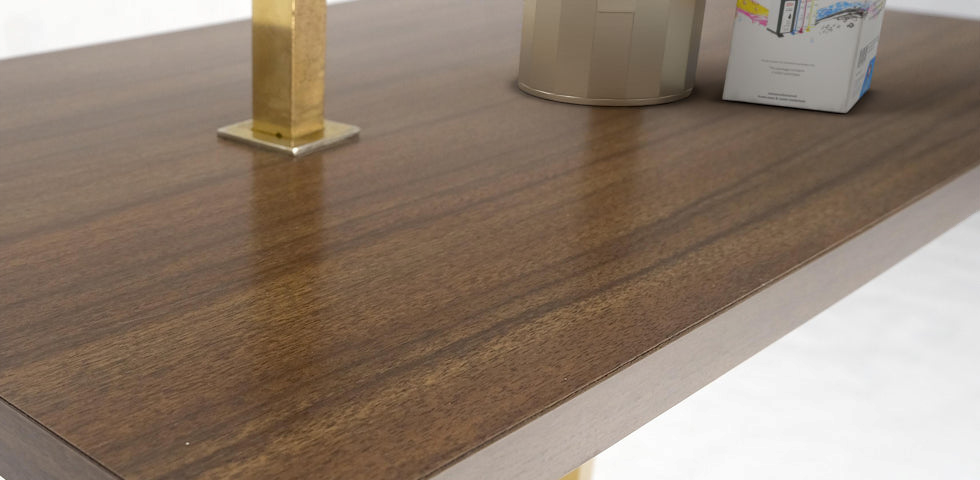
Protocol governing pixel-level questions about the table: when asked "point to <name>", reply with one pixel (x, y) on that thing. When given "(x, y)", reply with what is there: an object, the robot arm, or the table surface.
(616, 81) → the pot
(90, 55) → the table surface
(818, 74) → the ink box
